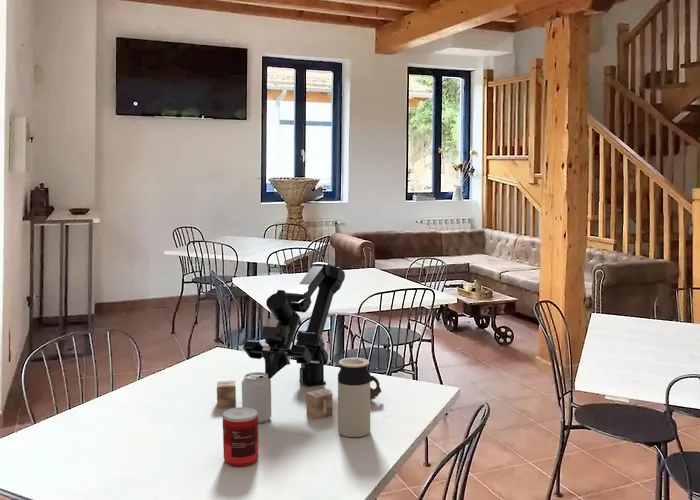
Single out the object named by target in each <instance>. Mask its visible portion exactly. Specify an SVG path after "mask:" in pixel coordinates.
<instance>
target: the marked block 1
mask: <svg viewBox="0 0 700 500" xmlns="http://www.w3.org/2000/svg"><path fill="white" fill-rule="evenodd" d="M236 389H237V388H236V380H225V381H224V380H222V381H216V401H217V402H216V403H217V409H225V408H226V409H227V408H229V409H230V408H237V395H236V393H237V392H236V391H237V390H236Z"/></svg>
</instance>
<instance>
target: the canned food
mask: <svg viewBox="0 0 700 500" xmlns="http://www.w3.org/2000/svg"><path fill="white" fill-rule="evenodd" d="M222 441H223V442H222V443H223V459H224V463H225V464H226V465H228V466H229V467H233V468H245V467H250V466H252V465H254V464H256V463H257V462H258V461H259V423H258V414H257V411H256V410H255V409H252V408H247V407H242V406H240V407H237V406H236V407H231V408H229V409H226V410H224V411H223V413H222Z"/></svg>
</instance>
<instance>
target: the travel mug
mask: <svg viewBox="0 0 700 500" xmlns="http://www.w3.org/2000/svg"><path fill="white" fill-rule="evenodd" d="M338 364H339V367H340V369H339V372H338V374H337V430H338V431H337V432H338V434H340V435H342V436H343V437H346V438H362V437H366V436H367V435H369V434H370V433H371V400H370V387H371V382H370V375H371V373H370V371H369V364H370V361H369V360H368V359H366V358H363V357H345V358H342V359H340V360H339V361H338Z"/></svg>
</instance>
